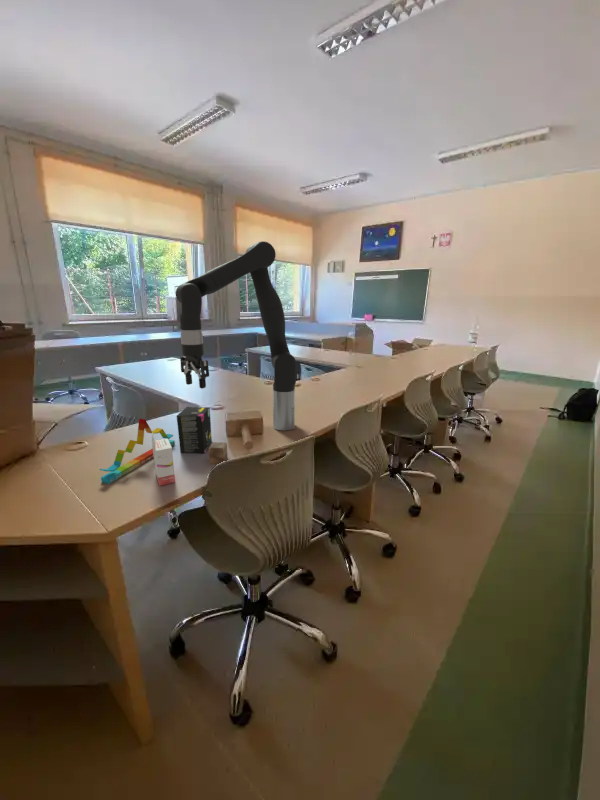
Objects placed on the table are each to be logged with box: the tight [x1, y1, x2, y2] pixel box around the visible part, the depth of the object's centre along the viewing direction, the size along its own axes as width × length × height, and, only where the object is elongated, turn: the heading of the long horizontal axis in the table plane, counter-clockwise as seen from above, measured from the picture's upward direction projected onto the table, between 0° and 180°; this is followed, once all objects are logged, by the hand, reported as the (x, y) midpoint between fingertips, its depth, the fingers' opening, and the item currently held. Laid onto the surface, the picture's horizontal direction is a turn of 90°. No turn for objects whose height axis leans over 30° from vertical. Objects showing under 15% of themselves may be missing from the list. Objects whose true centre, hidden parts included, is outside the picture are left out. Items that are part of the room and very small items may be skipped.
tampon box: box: [176, 406, 213, 454], centre depth 127 cm, size 11×9×15 cm
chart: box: [99, 418, 176, 485], centre depth 116 cm, size 30×3×15 cm, turn 161°
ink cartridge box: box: [151, 433, 176, 487], centre depth 105 cm, size 9×5×15 cm, turn 29°
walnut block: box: [208, 441, 228, 466], centre depth 118 cm, size 5×5×6 cm
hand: (195, 386), depth 126 cm, fingers open, 8 cm apart
